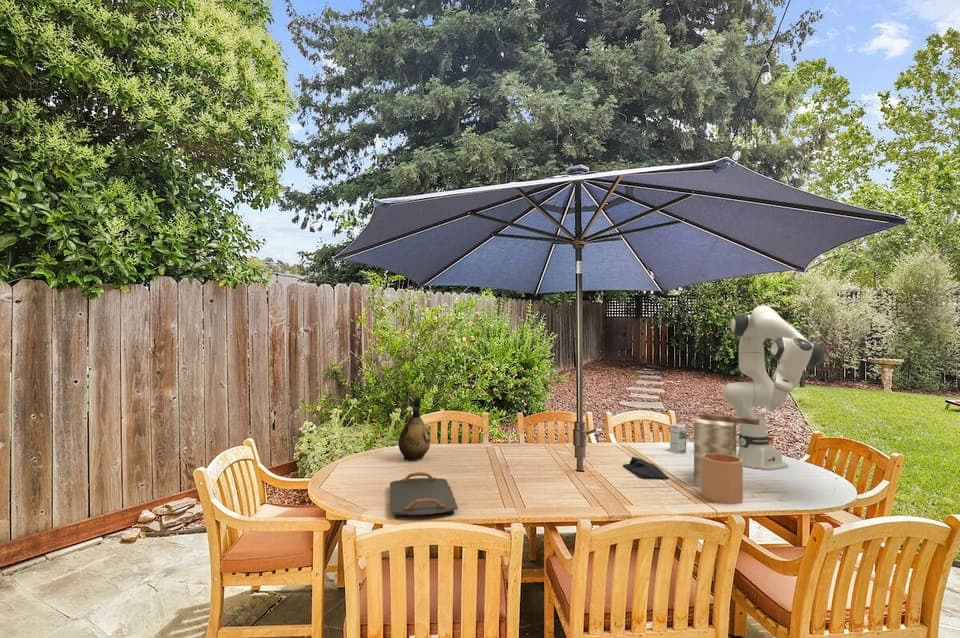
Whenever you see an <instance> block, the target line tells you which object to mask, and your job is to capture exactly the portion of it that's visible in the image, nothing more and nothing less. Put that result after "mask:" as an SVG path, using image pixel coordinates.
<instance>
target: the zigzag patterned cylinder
mask: <svg viewBox="0 0 960 638" xmlns="http://www.w3.org/2000/svg"><path fill="white" fill-rule="evenodd" d="M737 424H738V423H732V422H722V421H712V420H702V419H700V416H699V417H698V418H696V420H695V421H694V422H693V426H694V427H693V486H694V485H696V486H695V487H699V486H701V456H702V455H703V454H706V453H720V454H728V455H733V456H736V457H737V451H738V450H737V449H738V448H737V438H738V437H737V432H738V431H737V427H738V426H737Z"/></svg>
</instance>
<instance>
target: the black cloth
mask: <svg viewBox="0 0 960 638" xmlns="http://www.w3.org/2000/svg"><path fill="white" fill-rule="evenodd" d="M622 466H623V467H624V468H626V469H627V470H628V471H630V472H631V473H632V472H633V474H634V475H637V476H639V477H641V478H642V479H646V478H647V479H656V478H657V479H658V480H668V478H670V477H669V476H667V475H666V474H665V473H664V471H662V470H661V469H660V468H659V467H658V466H657V465H655V464H654V463H652V462H648V461H647V460H644V459H642V458H639V457H636V456H632V457H631V459H630V461H629V463H625V464H623V465H622Z"/></svg>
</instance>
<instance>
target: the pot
mask: <svg viewBox="0 0 960 638" xmlns="http://www.w3.org/2000/svg"><path fill="white" fill-rule="evenodd" d="M700 495H701V497H703V498H704V499H707V500H709V501H710V502H716V503H721V504H728V505H730V504H731V505H732V504H742V503H743V500H744V466H743V459H742V458H739V457H738V456H737V455H736V456H733V455H728V454H720V453H706V454H703V455H702V456H701V487H700Z"/></svg>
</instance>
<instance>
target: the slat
mask: <svg viewBox="0 0 960 638" xmlns="http://www.w3.org/2000/svg"><path fill="white" fill-rule="evenodd" d="M699 417H700V419H702V420H712V421H722V422H732V423H737V424H740V423H742V424H753V425H759V419H758V418H747V417H739V416H734V415H723V414H715V413H714V414H713V413H704V412H703V413H700V414H699Z"/></svg>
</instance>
